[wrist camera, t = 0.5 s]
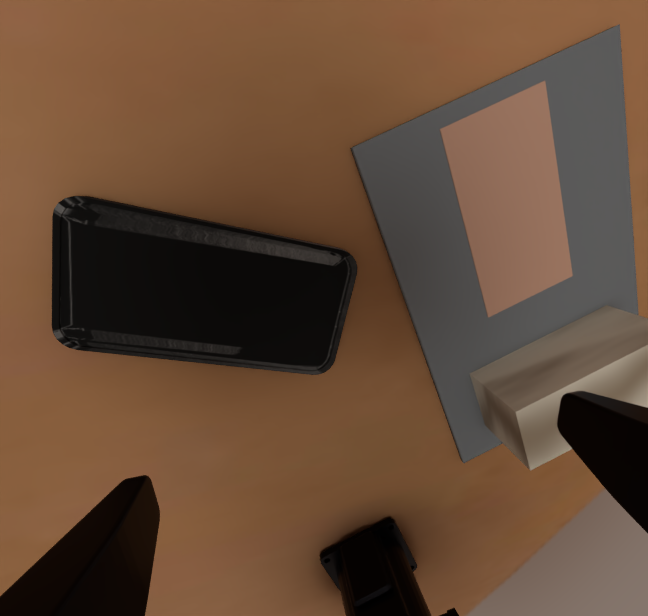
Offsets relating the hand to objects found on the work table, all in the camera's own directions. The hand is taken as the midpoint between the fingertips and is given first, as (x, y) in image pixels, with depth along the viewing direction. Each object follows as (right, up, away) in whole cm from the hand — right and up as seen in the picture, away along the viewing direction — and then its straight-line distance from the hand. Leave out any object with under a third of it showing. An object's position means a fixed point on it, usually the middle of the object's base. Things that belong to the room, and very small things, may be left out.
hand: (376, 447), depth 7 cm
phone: (-7, +4, +12) cm, 15 cm away
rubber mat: (+12, +5, +16) cm, 20 cm away
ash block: (+15, -1, +18) cm, 23 cm away
